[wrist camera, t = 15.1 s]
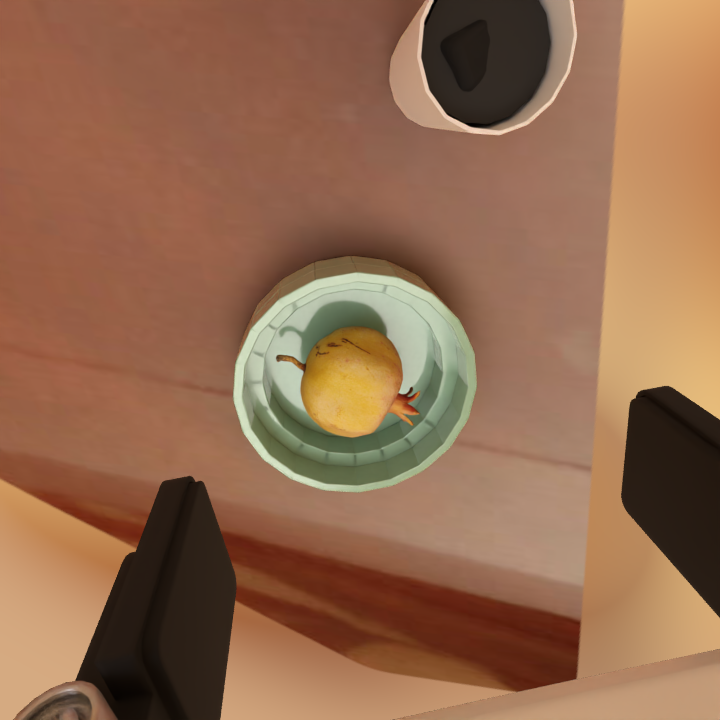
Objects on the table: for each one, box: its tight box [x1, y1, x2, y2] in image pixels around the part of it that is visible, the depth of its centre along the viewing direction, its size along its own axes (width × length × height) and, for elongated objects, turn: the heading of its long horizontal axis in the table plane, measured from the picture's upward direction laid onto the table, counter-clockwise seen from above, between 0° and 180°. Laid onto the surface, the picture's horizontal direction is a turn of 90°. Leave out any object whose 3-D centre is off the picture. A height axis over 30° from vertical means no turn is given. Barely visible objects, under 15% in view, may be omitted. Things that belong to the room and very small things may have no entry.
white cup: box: [389, 0, 577, 135], centre depth 25 cm, size 7×7×10 cm
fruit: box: [276, 326, 420, 438], centre depth 33 cm, size 7×7×10 cm
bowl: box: [233, 256, 477, 493], centre depth 34 cm, size 15×15×5 cm
